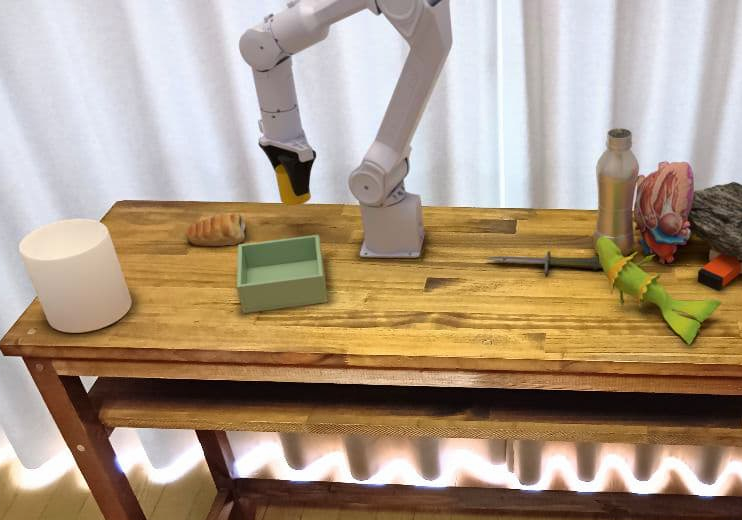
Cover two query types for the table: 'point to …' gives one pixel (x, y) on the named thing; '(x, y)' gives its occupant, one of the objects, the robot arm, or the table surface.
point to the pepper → (288, 188)
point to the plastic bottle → (616, 191)
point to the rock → (719, 218)
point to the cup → (76, 275)
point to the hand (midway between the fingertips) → (294, 187)
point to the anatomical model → (664, 208)
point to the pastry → (217, 230)
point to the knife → (553, 261)
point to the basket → (281, 274)
